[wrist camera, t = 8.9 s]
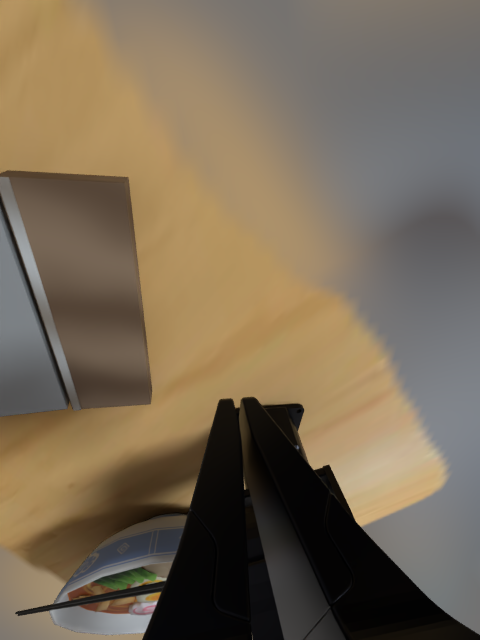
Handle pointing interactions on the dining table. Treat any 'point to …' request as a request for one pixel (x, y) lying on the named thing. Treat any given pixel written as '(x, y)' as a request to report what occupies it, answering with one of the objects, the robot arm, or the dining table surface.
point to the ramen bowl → (119, 580)
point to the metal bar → (84, 281)
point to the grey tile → (24, 339)
